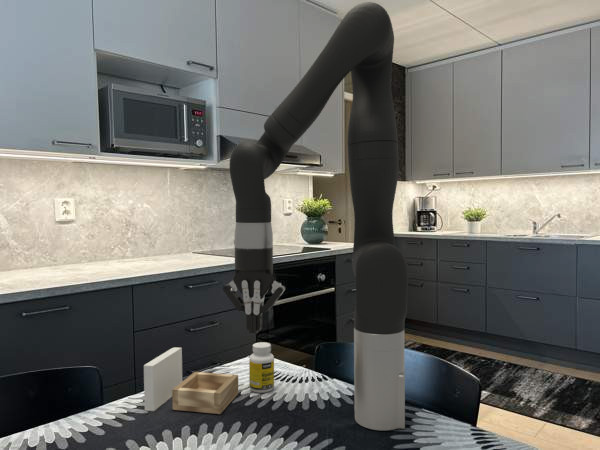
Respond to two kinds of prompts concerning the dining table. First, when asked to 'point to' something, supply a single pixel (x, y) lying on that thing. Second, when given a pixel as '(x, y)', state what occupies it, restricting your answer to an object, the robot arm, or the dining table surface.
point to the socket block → (205, 392)
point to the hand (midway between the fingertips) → (254, 332)
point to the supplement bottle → (261, 368)
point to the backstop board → (162, 378)
